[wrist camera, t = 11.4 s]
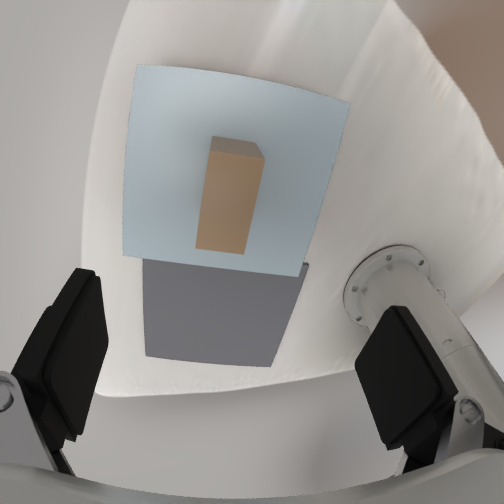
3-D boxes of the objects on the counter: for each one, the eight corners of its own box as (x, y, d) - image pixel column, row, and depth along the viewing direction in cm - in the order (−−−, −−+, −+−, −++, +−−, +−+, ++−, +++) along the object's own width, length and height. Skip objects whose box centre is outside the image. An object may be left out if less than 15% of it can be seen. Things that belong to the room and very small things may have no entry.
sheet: (347, 102, 19) (383, 110, 15) (296, 273, 27) (312, 316, 22) (139, 65, 17) (112, 59, 12) (124, 251, 24) (105, 293, 19)
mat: (308, 263, 34) (309, 265, 33) (270, 364, 43) (270, 367, 42) (143, 242, 30) (143, 244, 30) (146, 354, 39) (145, 356, 39)
